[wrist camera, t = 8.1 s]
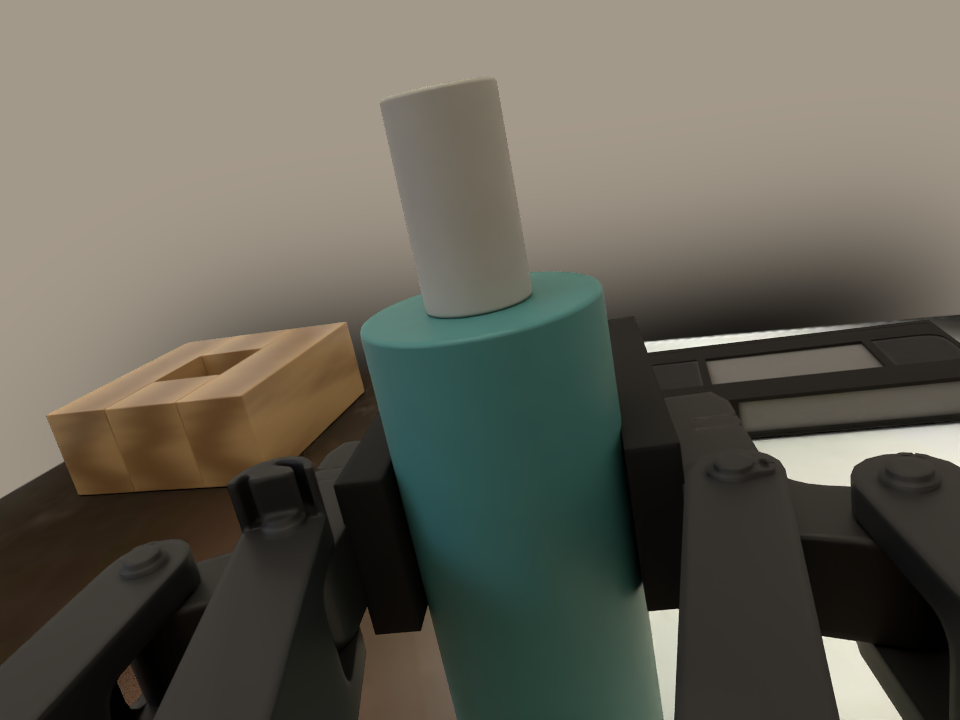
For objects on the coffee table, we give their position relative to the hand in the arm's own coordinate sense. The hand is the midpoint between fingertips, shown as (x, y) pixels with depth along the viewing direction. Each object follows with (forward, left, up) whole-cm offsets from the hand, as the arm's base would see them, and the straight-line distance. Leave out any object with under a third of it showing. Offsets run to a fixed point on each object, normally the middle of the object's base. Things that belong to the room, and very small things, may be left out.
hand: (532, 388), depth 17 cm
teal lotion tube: (+1, -5, -8) cm, 9 cm away
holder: (-24, +20, -9) cm, 32 cm away
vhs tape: (+8, +19, -9) cm, 22 cm away
